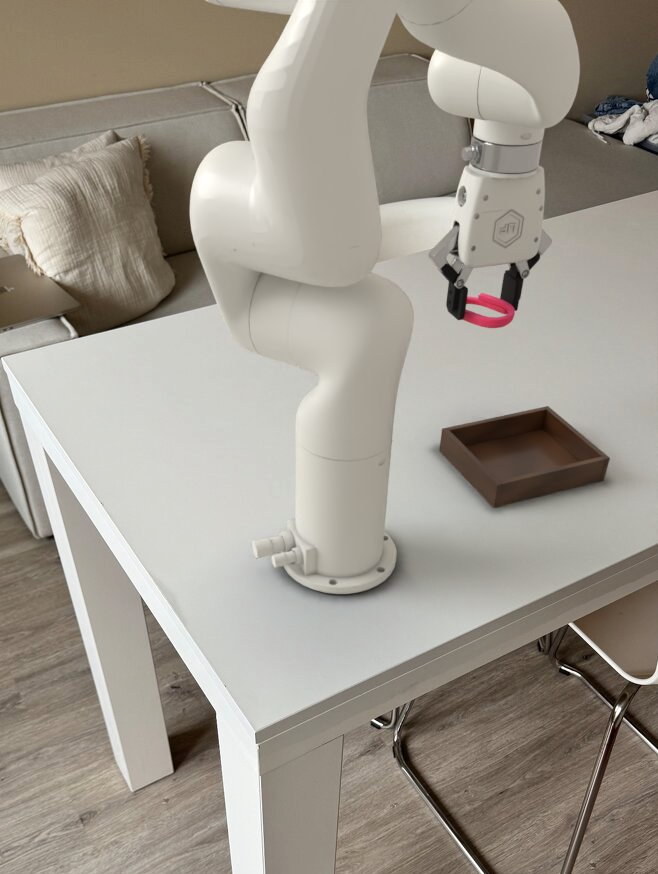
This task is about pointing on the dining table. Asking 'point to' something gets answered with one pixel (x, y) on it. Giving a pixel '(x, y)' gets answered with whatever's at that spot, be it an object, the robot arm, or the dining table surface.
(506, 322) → the fitness band
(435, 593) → the dining table surface
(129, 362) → the dining table surface
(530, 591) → the dining table surface
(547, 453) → the walnut tray
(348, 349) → the robot arm
